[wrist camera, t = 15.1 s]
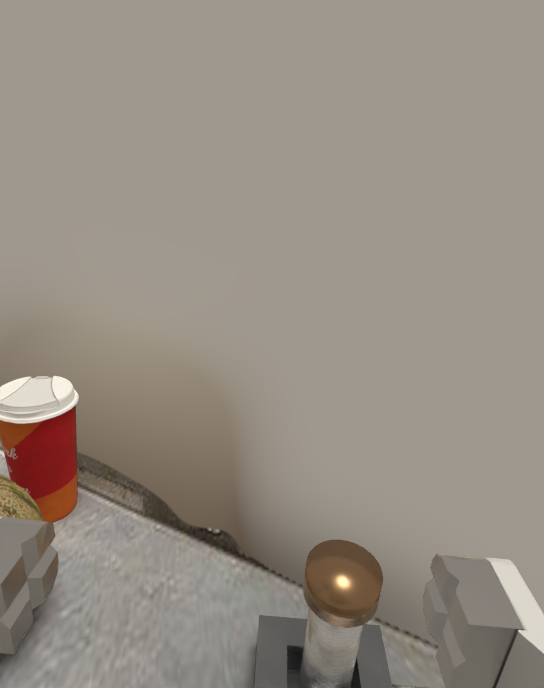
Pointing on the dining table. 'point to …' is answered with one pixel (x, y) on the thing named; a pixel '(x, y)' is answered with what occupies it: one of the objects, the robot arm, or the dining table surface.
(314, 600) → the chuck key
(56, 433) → the coffee cup
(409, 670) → the dining table surface
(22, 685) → the dining table surface
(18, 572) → the robot arm
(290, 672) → the block
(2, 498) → the cantaloupe
